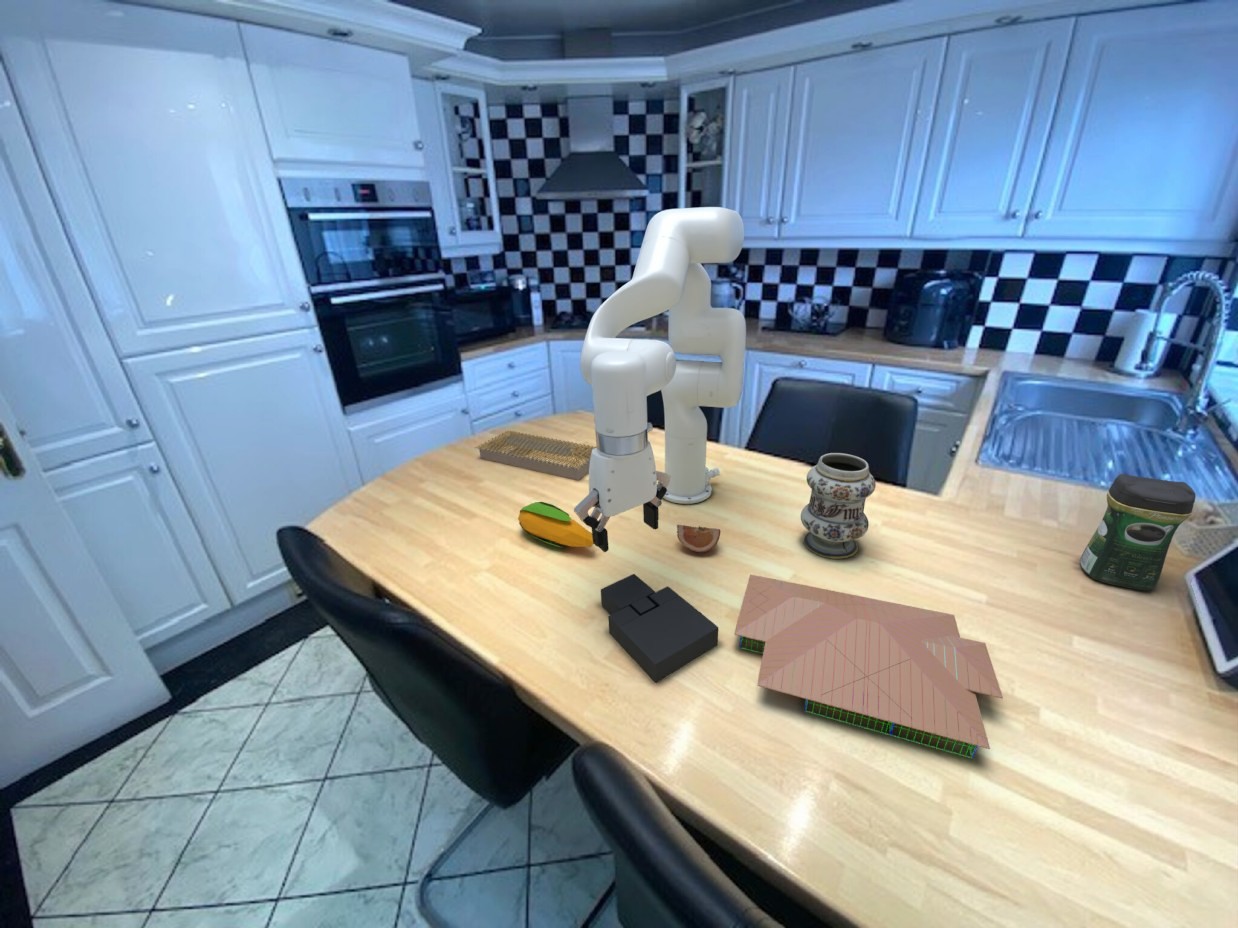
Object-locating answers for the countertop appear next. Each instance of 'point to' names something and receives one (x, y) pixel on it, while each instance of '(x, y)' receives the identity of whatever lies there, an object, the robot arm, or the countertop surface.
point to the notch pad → (663, 633)
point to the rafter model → (541, 444)
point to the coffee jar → (1137, 531)
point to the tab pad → (627, 596)
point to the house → (869, 659)
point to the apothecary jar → (837, 505)
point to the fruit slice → (698, 537)
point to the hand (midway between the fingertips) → (626, 536)
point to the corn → (553, 526)
